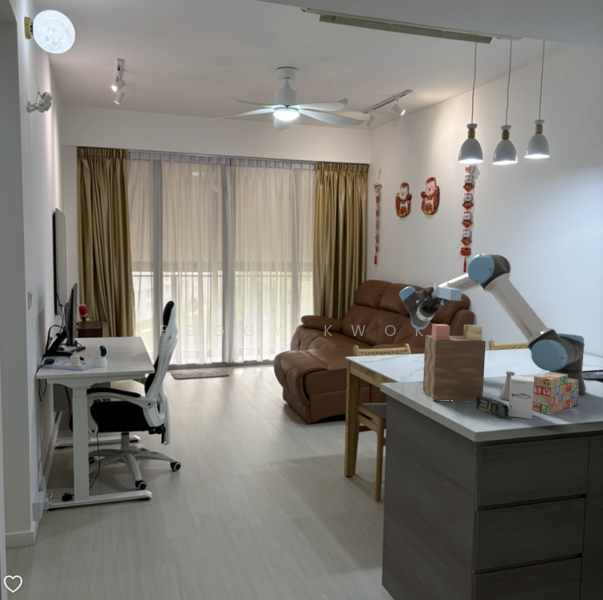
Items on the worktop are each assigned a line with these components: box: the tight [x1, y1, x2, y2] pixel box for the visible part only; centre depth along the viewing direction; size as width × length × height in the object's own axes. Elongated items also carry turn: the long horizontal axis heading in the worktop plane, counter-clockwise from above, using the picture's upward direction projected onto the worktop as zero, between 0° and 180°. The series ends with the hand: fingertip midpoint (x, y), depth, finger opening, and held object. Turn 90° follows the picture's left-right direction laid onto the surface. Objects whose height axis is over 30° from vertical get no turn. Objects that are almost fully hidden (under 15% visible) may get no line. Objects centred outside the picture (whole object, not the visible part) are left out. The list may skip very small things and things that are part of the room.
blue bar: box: [433, 286, 462, 302], centre depth 219 cm, size 22×4×4 cm, turn 3°
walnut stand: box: [422, 334, 486, 403], centre depth 209 cm, size 14×18×22 cm
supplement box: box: [508, 375, 534, 420], centre depth 187 cm, size 7×7×13 cm
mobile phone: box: [475, 395, 513, 420], centre depth 188 cm, size 5×3×15 cm
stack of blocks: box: [532, 371, 579, 415], centre depth 198 cm, size 21×6×12 cm, turn 130°
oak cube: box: [462, 324, 483, 340], centre depth 206 cm, size 5×5×5 cm
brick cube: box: [431, 323, 451, 340], centre depth 206 cm, size 5×5×5 cm
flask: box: [498, 370, 516, 401], centre depth 209 cm, size 7×7×10 cm
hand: (442, 285), depth 224 cm, fingers closed on blue bar, 4 cm apart
